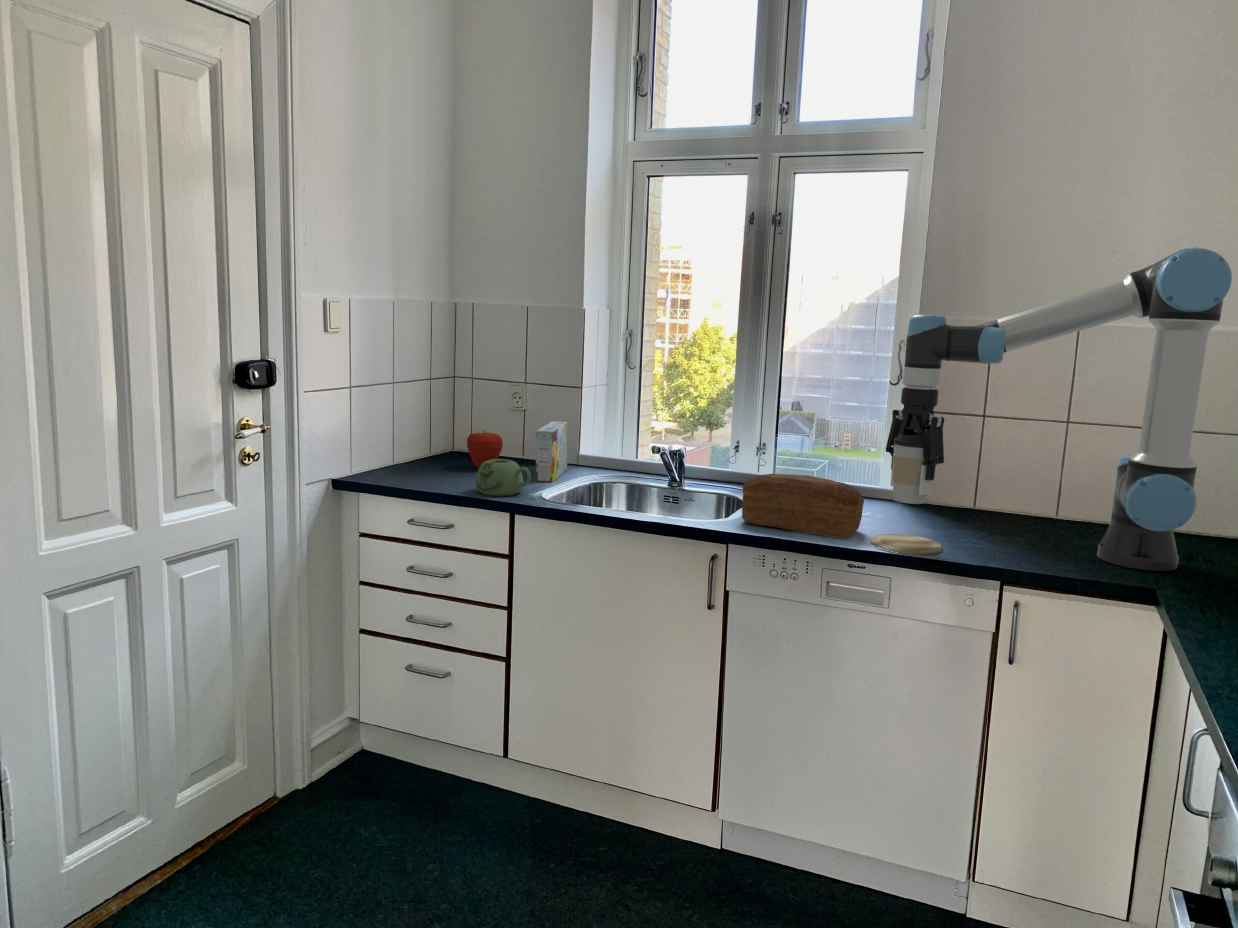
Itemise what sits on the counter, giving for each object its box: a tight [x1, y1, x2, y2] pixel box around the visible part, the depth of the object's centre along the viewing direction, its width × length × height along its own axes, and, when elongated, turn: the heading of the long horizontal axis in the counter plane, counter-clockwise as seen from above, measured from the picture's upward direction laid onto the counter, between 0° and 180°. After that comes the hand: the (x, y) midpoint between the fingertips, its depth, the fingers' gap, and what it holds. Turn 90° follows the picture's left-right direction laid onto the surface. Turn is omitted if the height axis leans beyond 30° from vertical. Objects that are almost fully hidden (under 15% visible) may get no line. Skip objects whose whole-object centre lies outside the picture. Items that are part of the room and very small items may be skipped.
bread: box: [741, 473, 865, 538], centre depth 209 cm, size 14×28×12 cm, turn 61°
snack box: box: [535, 421, 568, 483], centre depth 262 cm, size 21×6×15 cm, turn 172°
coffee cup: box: [892, 431, 931, 505], centre depth 193 cm, size 9×9×15 cm
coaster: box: [870, 533, 942, 556], centre depth 196 cm, size 15×15×1 cm
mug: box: [475, 458, 532, 497], centre depth 236 cm, size 16×13×9 cm
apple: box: [466, 430, 504, 470], centre depth 269 cm, size 11×11×12 cm
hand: (910, 489), depth 194 cm, fingers closed on coffee cup, 8 cm apart
